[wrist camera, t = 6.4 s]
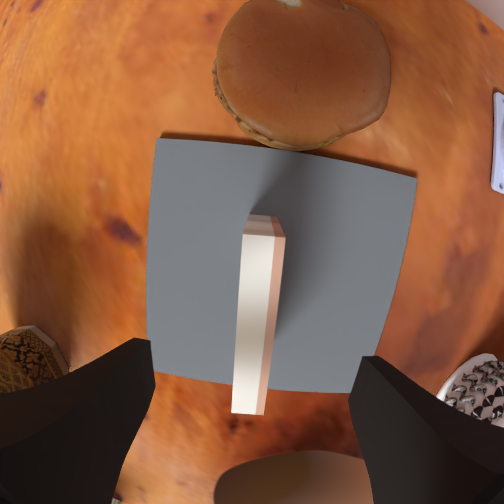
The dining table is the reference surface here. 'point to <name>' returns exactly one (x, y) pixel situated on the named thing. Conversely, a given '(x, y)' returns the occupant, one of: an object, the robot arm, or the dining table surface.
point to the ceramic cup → (28, 359)
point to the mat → (294, 262)
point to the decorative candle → (477, 389)
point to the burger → (302, 72)
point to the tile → (257, 311)
